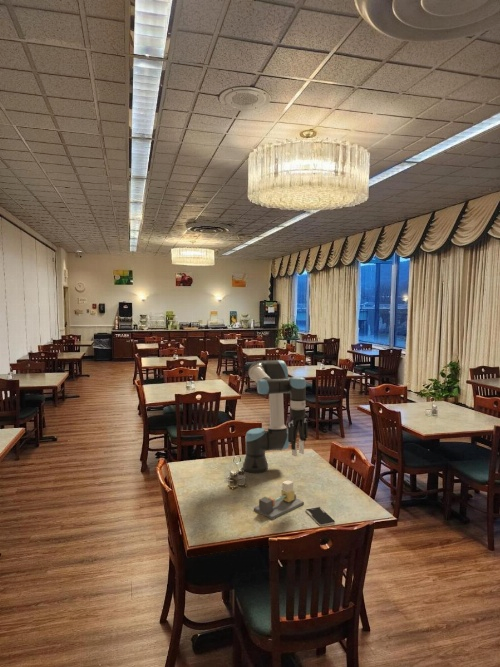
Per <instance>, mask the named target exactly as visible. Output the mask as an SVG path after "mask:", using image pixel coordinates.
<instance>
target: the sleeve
mask: <svg viewBox="0 0 500 667" xmlns="http://www.w3.org/2000/svg"><path fill="white" fill-rule="evenodd" d="M281 485H282V486H281V487H282V488H281V496H283V495H285V494H286V495H287V497H286V498H283V499H282V500H285V501H287V502H290V501H292V500H294V491H295V490H294V481H291V480H289V479H288V480H285V481H282V482H281Z"/></svg>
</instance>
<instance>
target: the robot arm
mask: <svg viewBox="0 0 500 667" xmlns="http://www.w3.org/2000/svg"><path fill="white" fill-rule="evenodd" d="M247 374H248V377H249V378H250V380H252V381H253V382H255V383H256V391H257V394H259V395H268V400H269V401H268V402H269V404H268V405H269V426H267V430H266V429H265V428H262V427H257V428H251V429H249V430H248V431H246V433H245V440H244V441H245V457H244V462H243V464H242V469H243V471H244V472H247V473H252V474H259V473H264V472H266V471H268V469H269V463H268V460H267V457H266V452H268V451H282V450H287V449H288V448H289V446H290V444H291V456H294V457H298V453H300V454H302V455H304V453H305V442H306V441H307V438H309V437H308V432H309V430H308V424H309V419H308V418H305V417H306V395H307V393H306V389H307V384H306V383H307V382H306V378H305V377H304V376H303V377H302V376H293V377H290V376H289V370H288V366H287V364H286V362H285V361H284V360H281V359H276V360H272V359H271V360H257V361H255V362H253V363H252V364H250V366H249V367H248V371H247ZM284 394H290V396H289V397H290V404H289V405H290V406H289V407H290V412H289V414H290V418H291V419H290V422H287V424H285V411H284V410H285V409H284ZM286 425H287V426H286ZM298 434H299V439H298V443H297V438H298V437H297V436H298Z"/></svg>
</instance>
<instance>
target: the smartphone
mask: <svg viewBox="0 0 500 667" xmlns="http://www.w3.org/2000/svg"><path fill="white" fill-rule="evenodd" d="M305 512H306V514H308V515H309V517H310V518H311V519H312V520H313V521H314V522H316V524H317V523H318V524H319V525H318V526H320V527H325V526H328V525H334V524H336V521H335V519H333V518H332V517H331V516H330V515H329V514H328V513H327V512H326V511H325V510H324V509H323V508H321V506H315V507H308V508H305Z"/></svg>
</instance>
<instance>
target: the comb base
mask: <svg viewBox="0 0 500 667" xmlns="http://www.w3.org/2000/svg"><path fill="white" fill-rule="evenodd" d="M286 497H287V495H286V494H285V495H283V496H282V495H280V496H278V497H275V498H272V497H271V496H269V497H266V496H264V497H262V498H259V499H258V505H257V506H255V507H253V510H254V511H255V512H257V513H259V514H260V515H262V516H265V517H267V518H269V519H270V520H274V519H276V518H278V517H280V516H282V515H285V514H286V513H289V512H290V511H293V510H295V509H297V508H299V507H301V506H303V505H304V504H305V502H304V501H303V500H301V499H298V498H297V494H296V492H295V490H294V500H292V501H290V502H287V501H285V500H282V499H283V498H286Z"/></svg>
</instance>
